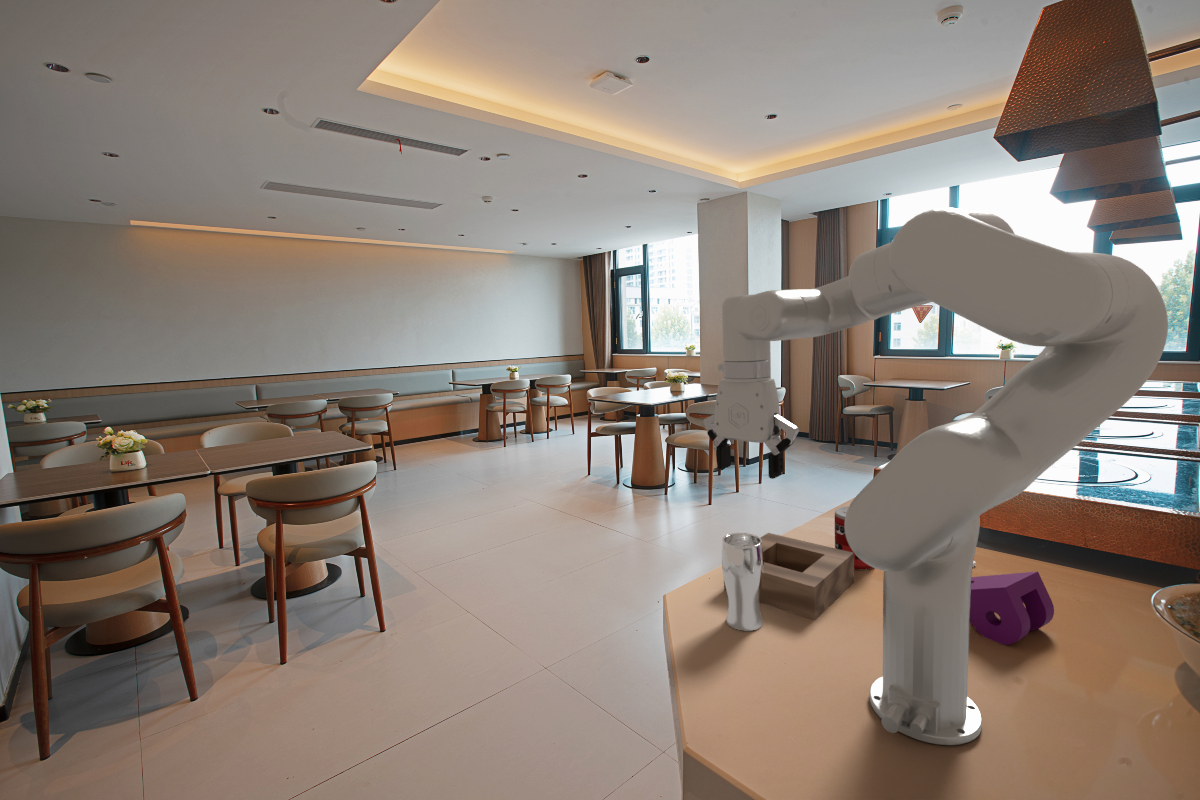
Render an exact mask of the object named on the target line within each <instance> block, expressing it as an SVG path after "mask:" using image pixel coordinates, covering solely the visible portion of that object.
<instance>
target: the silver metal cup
mask: <svg viewBox="0 0 1200 800" xmlns="http://www.w3.org/2000/svg"><path fill="white" fill-rule="evenodd" d="M721 567H722V574H723V582H724V581H725V586H726V590H727V591H726V590H725V591H726V594H727V601H728V602H727V604H728V605H727V612H726V613H727V614H726V623H727V625H728V626H729V627H730V626H731V628H732V629H734V628H735V629H734V630H736V629H738V630H737V631H739V630H744V631H743V632H754V631H758V630H759V629H760V628H761V627H762V626H763V622H764V621H763V617H762V613H761V607H760V603H761V602H760V594H761V588H762V582H763V574H764V558H763V548H762V540H761V537H759V536H758V535H756V534H753V533H747V532H733V533H732V532H731V533H729V534H727V535H724V536H723V537H722V546H721ZM753 630H754V631H753Z"/></svg>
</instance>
